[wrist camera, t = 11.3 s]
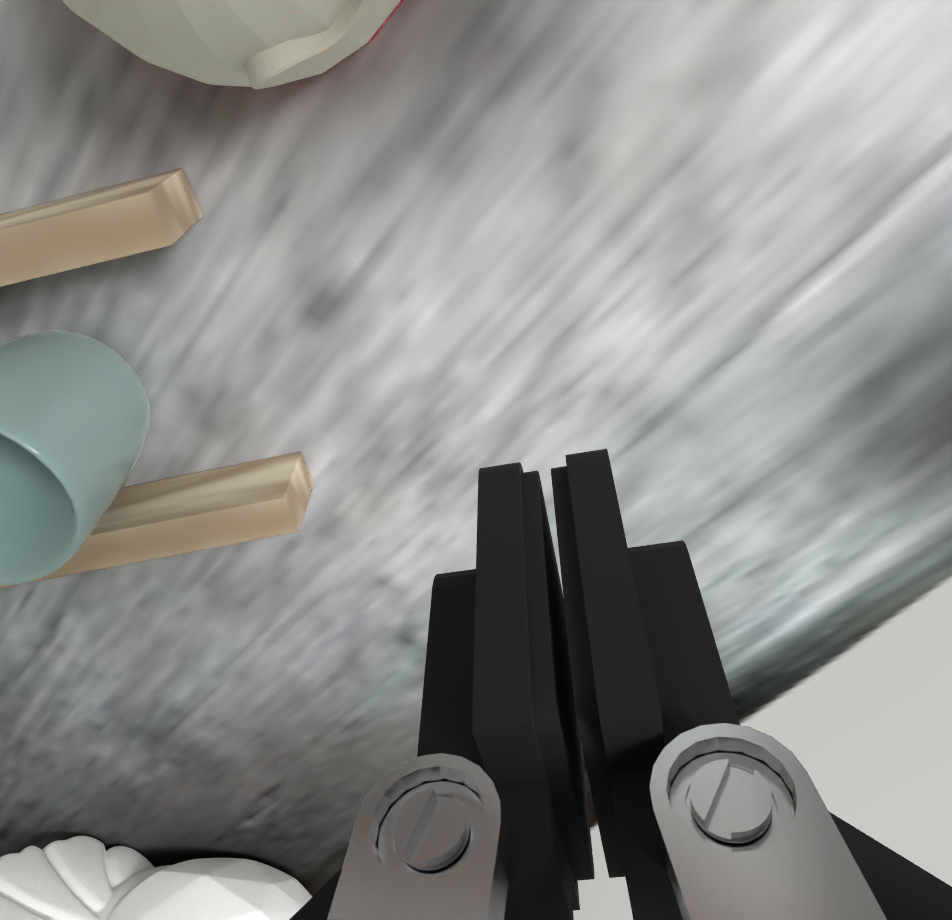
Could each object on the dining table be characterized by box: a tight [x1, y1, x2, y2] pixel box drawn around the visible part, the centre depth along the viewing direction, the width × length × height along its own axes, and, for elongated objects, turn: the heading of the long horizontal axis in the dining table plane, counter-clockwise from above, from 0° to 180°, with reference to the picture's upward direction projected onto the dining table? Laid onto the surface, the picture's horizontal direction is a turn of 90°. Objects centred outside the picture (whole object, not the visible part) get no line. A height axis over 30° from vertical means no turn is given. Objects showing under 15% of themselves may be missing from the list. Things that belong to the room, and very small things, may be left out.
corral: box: [0, 168, 314, 588], centre depth 36 cm, size 16×18×4 cm
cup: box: [0, 330, 150, 585], centre depth 33 cm, size 8×8×10 cm
